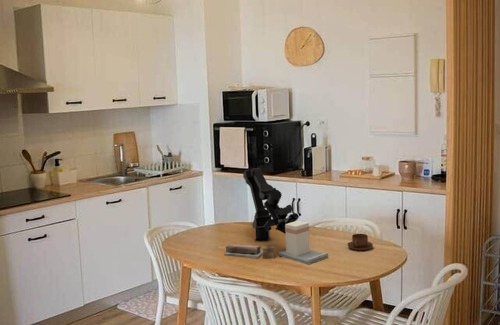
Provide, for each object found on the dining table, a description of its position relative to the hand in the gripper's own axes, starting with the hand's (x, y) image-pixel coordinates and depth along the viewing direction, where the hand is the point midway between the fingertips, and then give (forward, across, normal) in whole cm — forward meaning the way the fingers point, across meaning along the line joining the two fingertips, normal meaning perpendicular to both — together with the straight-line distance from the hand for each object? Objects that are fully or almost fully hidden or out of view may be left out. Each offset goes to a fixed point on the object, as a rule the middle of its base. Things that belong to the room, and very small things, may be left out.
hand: (290, 236), depth 272 cm
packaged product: (-5, -16, +18) cm, 24 cm away
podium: (+11, 0, +1) cm, 11 cm away
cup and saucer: (+20, +27, -7) cm, 34 cm away
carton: (+8, 0, +2) cm, 8 cm away
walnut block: (+3, -11, +9) cm, 15 cm away
